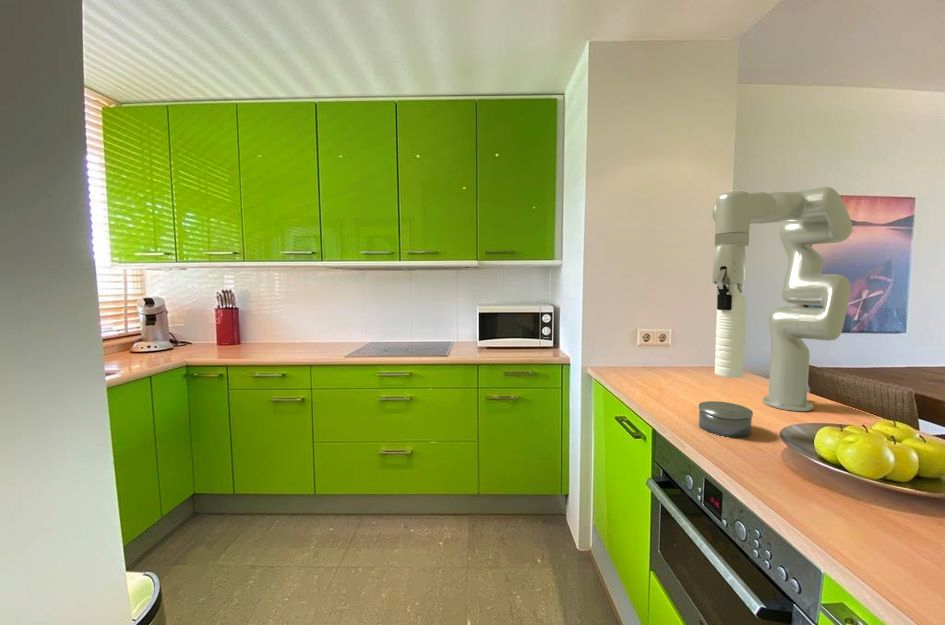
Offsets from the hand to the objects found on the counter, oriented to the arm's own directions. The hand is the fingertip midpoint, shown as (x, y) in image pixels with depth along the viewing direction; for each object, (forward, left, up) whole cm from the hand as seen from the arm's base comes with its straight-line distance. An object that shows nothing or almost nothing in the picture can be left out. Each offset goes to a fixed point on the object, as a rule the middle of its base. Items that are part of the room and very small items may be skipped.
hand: (729, 308), depth 104 cm
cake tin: (0, 0, -34) cm, 34 cm away
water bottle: (-1, 0, -18) cm, 18 cm away
